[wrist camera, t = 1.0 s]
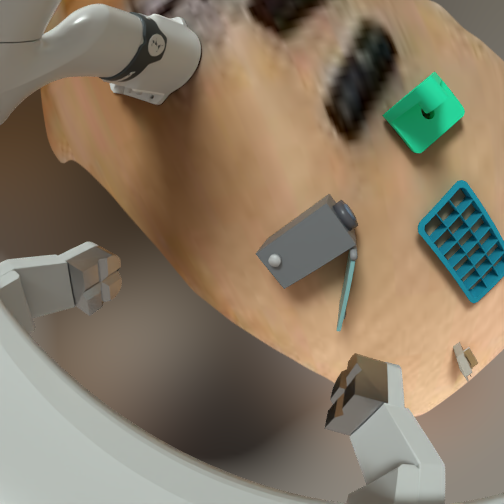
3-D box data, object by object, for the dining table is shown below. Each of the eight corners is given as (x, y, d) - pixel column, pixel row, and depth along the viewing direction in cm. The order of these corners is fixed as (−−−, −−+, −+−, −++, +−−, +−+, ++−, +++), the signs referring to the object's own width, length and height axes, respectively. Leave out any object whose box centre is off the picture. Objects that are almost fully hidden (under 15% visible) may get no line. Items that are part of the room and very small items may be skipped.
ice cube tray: (455, 174, 32) (462, 176, 30) (508, 257, 33) (514, 263, 30) (410, 222, 38) (414, 228, 36) (468, 297, 38) (473, 306, 36)
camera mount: (413, 155, 34) (433, 159, 25) (381, 116, 34) (393, 107, 25) (460, 113, 28) (489, 108, 19) (430, 75, 28) (451, 58, 19)
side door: (350, 233, 42) (350, 253, 35) (357, 234, 42) (360, 254, 34) (338, 302, 47) (335, 330, 40) (345, 303, 47) (343, 331, 40)
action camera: (337, 187, 40) (336, 197, 33) (363, 224, 41) (366, 240, 34) (268, 238, 47) (254, 255, 40) (293, 269, 48) (283, 291, 41)
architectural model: (464, 336, 41) (473, 359, 35) (474, 352, 41) (482, 375, 35) (452, 345, 43) (459, 369, 36) (462, 360, 43) (469, 384, 37)
